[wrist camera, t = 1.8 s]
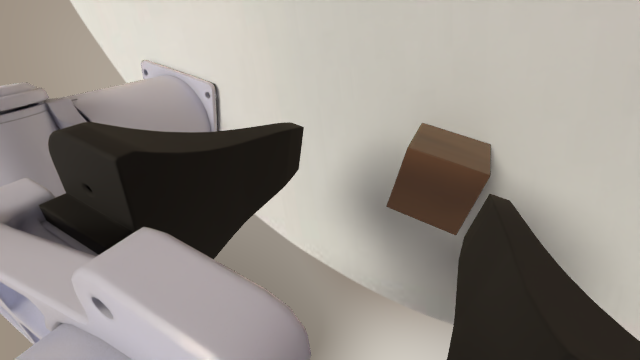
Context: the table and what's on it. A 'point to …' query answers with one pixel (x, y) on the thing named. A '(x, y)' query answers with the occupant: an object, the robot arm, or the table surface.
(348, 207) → the table surface
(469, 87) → the table surface
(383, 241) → the table surface
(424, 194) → the block
